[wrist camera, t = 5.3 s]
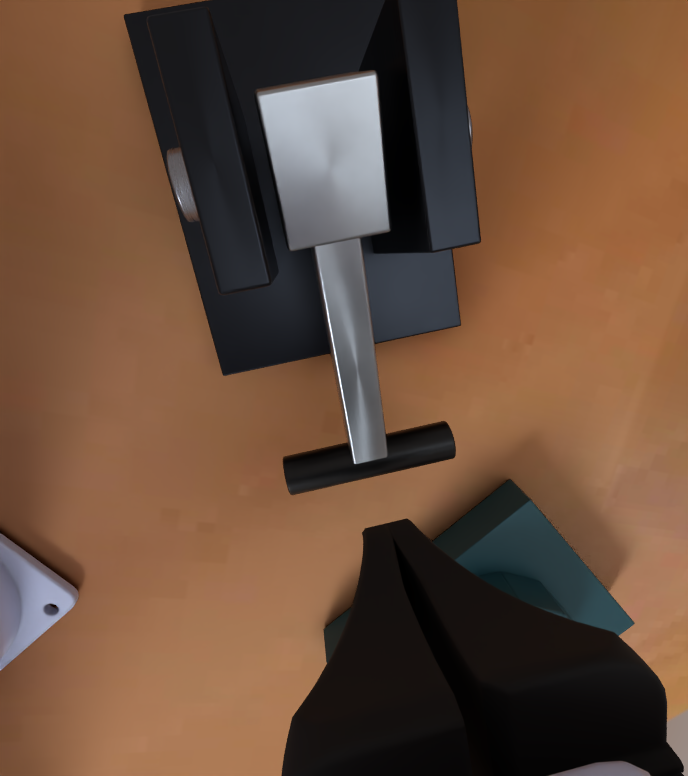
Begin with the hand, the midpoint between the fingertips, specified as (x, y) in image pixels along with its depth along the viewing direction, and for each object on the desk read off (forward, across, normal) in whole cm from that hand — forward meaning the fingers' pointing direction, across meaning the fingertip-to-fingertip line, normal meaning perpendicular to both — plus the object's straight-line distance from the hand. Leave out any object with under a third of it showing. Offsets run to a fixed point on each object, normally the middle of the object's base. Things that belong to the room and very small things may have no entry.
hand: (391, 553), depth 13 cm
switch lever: (+2, 0, -7) cm, 7 cm away
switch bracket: (+5, 0, -10) cm, 11 cm away
